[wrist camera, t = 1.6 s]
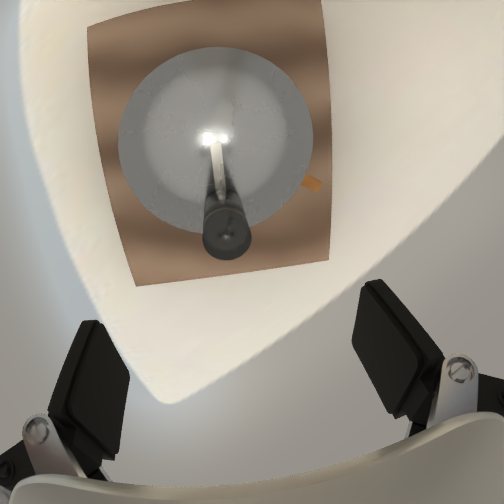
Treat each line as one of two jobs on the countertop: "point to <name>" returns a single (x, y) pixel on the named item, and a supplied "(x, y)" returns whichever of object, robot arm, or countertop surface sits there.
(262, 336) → the countertop surface
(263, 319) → the countertop surface
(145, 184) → the dial
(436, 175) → the countertop surface
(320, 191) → the dial board
